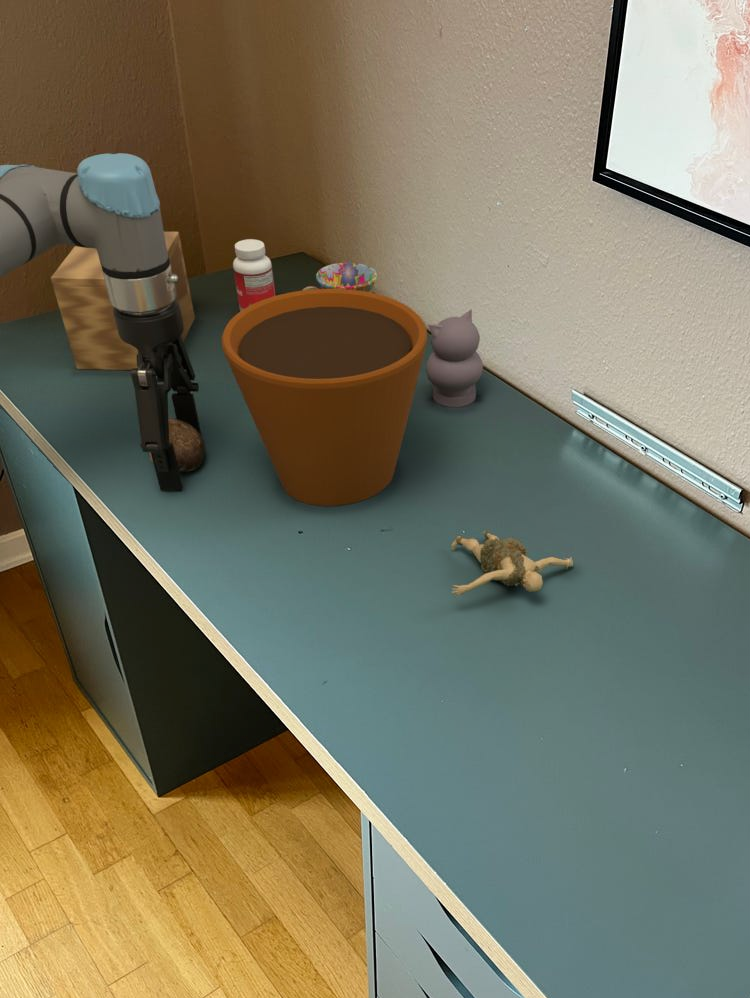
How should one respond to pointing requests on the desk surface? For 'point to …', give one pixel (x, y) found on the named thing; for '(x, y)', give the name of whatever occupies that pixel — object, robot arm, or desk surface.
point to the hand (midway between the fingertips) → (182, 462)
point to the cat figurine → (454, 361)
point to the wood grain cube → (106, 308)
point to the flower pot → (328, 387)
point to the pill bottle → (252, 273)
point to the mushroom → (185, 445)
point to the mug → (346, 277)
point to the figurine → (506, 563)
